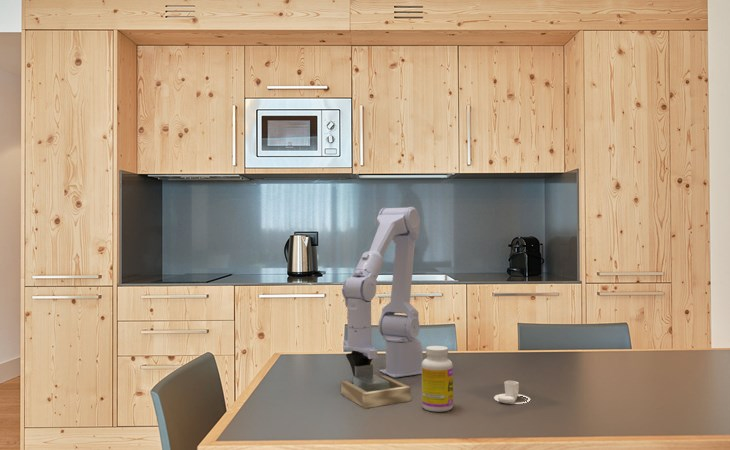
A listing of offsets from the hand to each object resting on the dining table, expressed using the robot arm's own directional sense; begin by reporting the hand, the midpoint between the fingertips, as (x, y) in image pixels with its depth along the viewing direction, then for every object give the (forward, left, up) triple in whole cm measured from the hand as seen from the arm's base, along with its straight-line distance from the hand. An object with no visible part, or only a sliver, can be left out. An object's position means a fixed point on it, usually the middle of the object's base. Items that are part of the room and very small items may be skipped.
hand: (360, 383), depth 140 cm
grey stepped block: (0, +6, -1) cm, 6 cm away
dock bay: (0, +7, -1) cm, 7 cm away
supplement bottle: (-8, +21, -2) cm, 23 cm away
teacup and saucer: (-24, +22, -2) cm, 32 cm away
